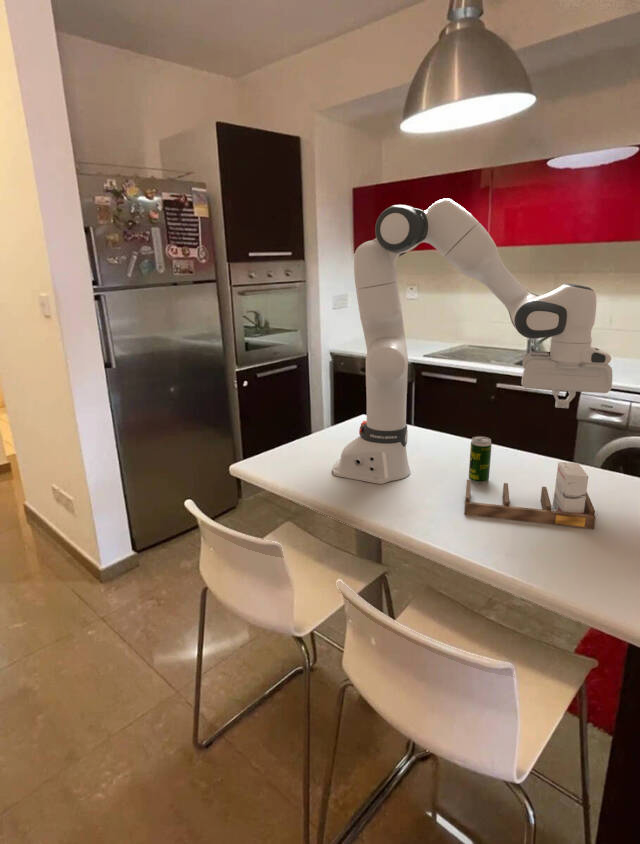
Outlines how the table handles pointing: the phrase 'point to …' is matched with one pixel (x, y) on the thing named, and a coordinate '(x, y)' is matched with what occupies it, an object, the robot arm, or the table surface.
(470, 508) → the rack
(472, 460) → the beer can
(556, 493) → the ink box
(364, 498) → the table surface
